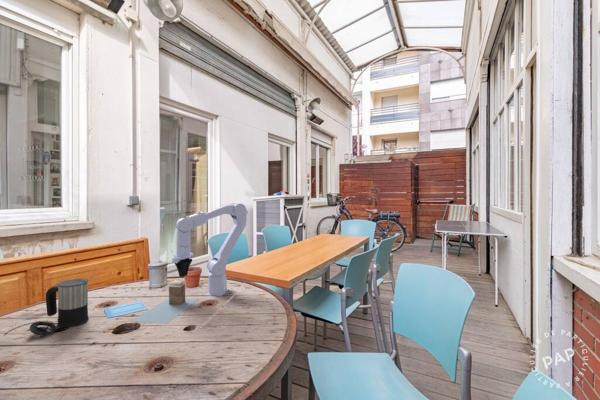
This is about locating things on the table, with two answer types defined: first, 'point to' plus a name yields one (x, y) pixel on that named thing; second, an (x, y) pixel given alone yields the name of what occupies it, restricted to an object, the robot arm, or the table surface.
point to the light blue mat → (164, 312)
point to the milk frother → (65, 306)
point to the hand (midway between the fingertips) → (183, 276)
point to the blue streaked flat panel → (124, 309)
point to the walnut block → (176, 292)
